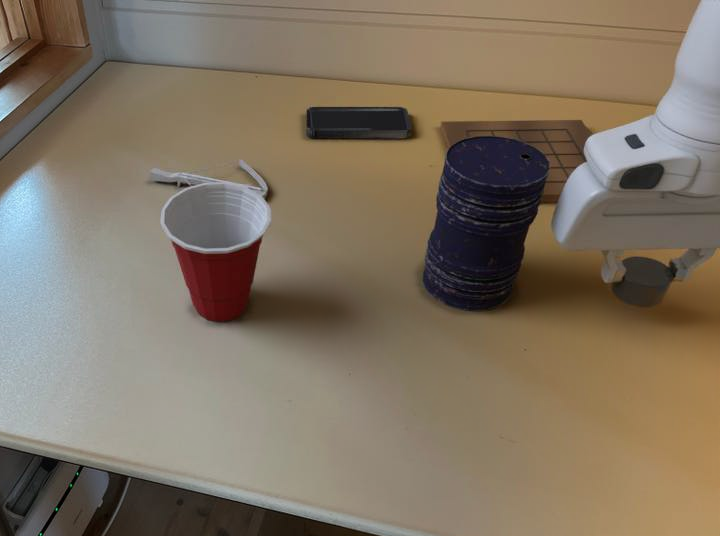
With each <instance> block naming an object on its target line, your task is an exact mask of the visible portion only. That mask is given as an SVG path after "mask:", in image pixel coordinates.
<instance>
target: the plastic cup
mask: <svg viewBox="0 0 720 536" xmlns="http://www.w3.org/2000/svg"><path fill="white" fill-rule="evenodd" d="M191 186H192V187H191ZM191 186H188V187H185V188H183V189H182V190H180V191H178V192H177V193H175V194H173V195H172V196H171V197H169V199H168V200H167V201H166V203H165V204H164V206H162V208H161V210H160V226H161V228H162V229H163V231H164V232H165V234H166V236H167V237H168V240H169V241H171V244H172V247H173V248H174V252H175V254H176V257H177V260H178V263H179V267H180V270H181V273H182V276H183V279H184V282H185V286H186V287H187V289H188V292H189V295H190V299H191V302H192V305H193V307H194V308H195V310H196V312H197V314H198V315H199V316H200V317H202V318H204V319H205V320H208V321H212V322H217V323H219V322H229V321H232V320H236V319H237V318H238V317H240V316H242V315H243V314H244V312H245V311H246V309H247V307H248V304H249V302H250V297H251V290H252V285H253V284H254V279H255V273H256V268H257V263H258V257H259V252H260V247H261V245H262V242H263V238H264V235H265V234H266V232H267V230H268V228H269V226H270V225H271V222H272V212H271V206H270V205H269V204H268V202H267V201H266V199H265V200H264V198H263V197H262V196H261V195H260V194H258V193H256V192H255V191H253V190H251V189H249V188H247V187H245V186H241V185H236V184H232V183H227V182H216V183H203V184H199V185H191Z"/></svg>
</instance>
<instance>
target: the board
mask: <svg viewBox="0 0 720 536" xmlns="http://www.w3.org/2000/svg"><path fill="white" fill-rule="evenodd" d="M439 130H440V133H441V135H442V138H443V142H444V144H445V147H446V151H447V150H448V149H449V147H450V146H452V145H453V144H454V143H456V142H458V141H460V140H463V139H466V138H470V137H477V136H499V137H506V138H511V139H516V140H519V141H522V142H525V143H527V144H530V145H532V146H534V147H535V148H537V149H538V150H540V151H541V152H542V153H544V154H545V156H546V157H547V158H548V160H549V162H550V170H549V173H548V176H547V179H546V182H545V186H544V192H543V196H542V200H541V203H540V204H552V203H553V204H557V203H558V200H559V198H560V195H561V193H562V191H563V188H564V186H565V184H566V182H567V180H568V178H569V177H570V175H571V174H572V172H573V171H574V170H575V169H576V168H577V167H578V166H580V165H581V164H583V163H585V162H587V160H586V158H585V155H584V146H585V143H586V141H587V139H588V138H589V137H590V136H592V135H593V134H592V133H591V132H590V130H589V129H588V127H587V126H586V125H585V123H584V122H583V120H582V119H543V120H541V119H539V120H537V119H535V120H534V119H533V120H466V121H464V120H463V121H459V120H457V121H456V120H454V121H450V120H449V121H441V122H440V127H439Z"/></svg>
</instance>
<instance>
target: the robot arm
mask: <svg viewBox="0 0 720 536" xmlns="http://www.w3.org/2000/svg"><path fill="white" fill-rule="evenodd" d="M691 18H692V19H691V21H690V23H689V24H688V28H687V30H686V32H685V35H684V36H683V39H682V41H681V45H680V47H679V49H678V52H677V54H676V58H675V61H674V73H673V79H672V81H671V85H670V86H669V87H668V90H667V91H666V93H665V94H664V95H663V97H662V98H661V99H660V101H659V103H658V105H657V107H656V109H655V111H654V114H651V115H648V116H646V117H643V118H640V119H638V120H635V121H632V122H629V123H627V124H624V125H619V126H616V127H613V128H610V129H606V130H603V131H600V132H597V133H594V134H591V135H592V136H590V137H589V138H588V139H587V141H586V143H585V146H584V155H585V158H586V160H587V162H585V163H583V164H581V165H580V166H578V167H577V168H576V169H575V170H574V171H573V172H572V174H571V175H570V177H569V178H568V180H567V182H566V184H565V186H564V188H563V191H562V193H561V195H560V198H559V200H558V203H556V205H555V208H554V211H553V214H552V217H551V222H550V226H551V232H552V234H553V236H554V238H555V240H556V241H557V243H558V244H559V245H560V247H561V248H562V250H564V251H566V252H587V251H588V252H589V251H590V252H591V251H601V254H602V257H603V259H604V263H603V264H602V268H601V269H600V270H601V271H600V276H601V278H602V280H603V282H604V284H609V283H610V284H611V283H621V282H622V280H623V278H622V277H623V276H625V273H626V271H627V270H626V268H625V266H623V265H622V264H623V263H622V260H621V259H620V258H621V257H622V256H623V254H624V251H639V250H640V251H642V250H646V251H647V250H685V252H684V253H683V254H682V255H681V256H680V257H674V258H670V260H669V261H668V265H667V266H668V267H669V268H670V269H671V271H672V272H673V276H674V278H673V281H672V282H678V283H679V282H681V283H682V282H683V283H684V282H685V283H686V282H688V280H689V279H690V277H691V275H692V273H693V271H694V270H696V269H697V268H698V267H699V266H701V265H703V264H704V263H705V262H707V261H708V260H710V259H711V258H712V257H713V256H714V255H715V254H716V252H717V249H720V0H700V1H699V4H698V5H697V8H696V9H695V12H694V14H693V16H692V17H691ZM686 249H687V250H686ZM617 258H619V259H617Z"/></svg>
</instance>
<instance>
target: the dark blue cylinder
mask: <svg viewBox="0 0 720 536" xmlns="http://www.w3.org/2000/svg"><path fill="white" fill-rule="evenodd" d="M549 170H550V162H549V160H548V158H547V157H546V156H545V154H544V153H542V152H541V151H540V150H538V149H537V148H535V147H534V146H532V145H530V144H527V143H525V142H522V141H519V140H516V139H511V138H506V137H499V136H477V137H470V138H466V139H463V140H460V141H458V142H456V143H454V144H453V145H452V146H450V147H449V149H448V150H447V149H446V153H445V158H444V165H443V168H442V171H441V172H442V173H441V175H440V177H439V183H438V192H437V194H436V197H435V201H436V204H435V205H436V210H437V211H436V217H435V221H434V227H433V229H432V230H431V232H430V234H429V238H428V240H427V246H426V251H425V256H424V269H423V272H422V284H423V287H424V289H425V290H426V292H427V293H428V294H429V295H430V296H431V297H432V298H434V299H435V300H436V301H437V302H439V303H441V304H444V305H446V306H447V307H451V308H453V309H458V310H462V311H470V312H481V311H489V310H492V309H496V308H498V307H500V306H502V305H504V304H505V303H506V302H507V301H508V300H509V299H510V298H511V296H512V292H513V290H514V285H515V283H516V280H517V278H518V276H519V274H520V271H521V268H522V262H523V260H524V258H525V257H524V256H525V251H526V247H525V242H526V240H527V235H528V233H529V230H530V227H531V225H532V224H533V223H534V221H535V219H536V217H537V215H538V212H539V207H540V205H541V204H542V203H541V200H542V196H543V192H544V186H545V182H546V179H547V176H548V173H549Z"/></svg>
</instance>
